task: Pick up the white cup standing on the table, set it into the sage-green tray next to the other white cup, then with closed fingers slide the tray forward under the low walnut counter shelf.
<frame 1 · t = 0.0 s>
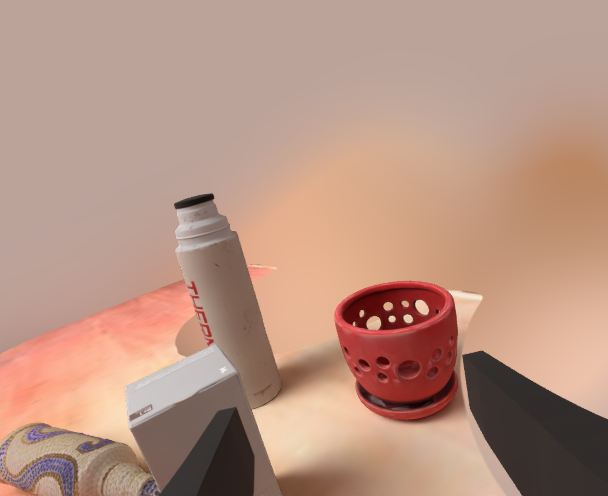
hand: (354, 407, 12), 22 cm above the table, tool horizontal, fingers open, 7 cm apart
thermos bottle: (254, 393, 55), on the table
plant pot: (410, 396, 46), on the table
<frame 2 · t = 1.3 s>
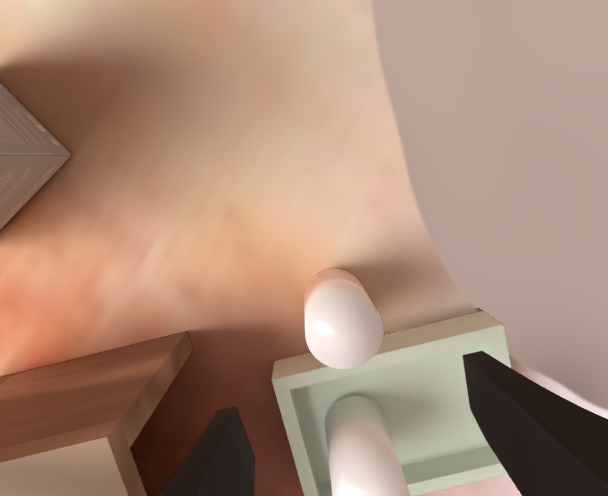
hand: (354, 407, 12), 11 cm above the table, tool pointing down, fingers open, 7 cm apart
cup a: (333, 297, 23), on the table
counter: (132, 465, 25), on the table
cup b: (354, 422, 23), point 1 cm above the table, tilted 6°, touching tray
tray: (391, 397, 25), on the table, touching cup b
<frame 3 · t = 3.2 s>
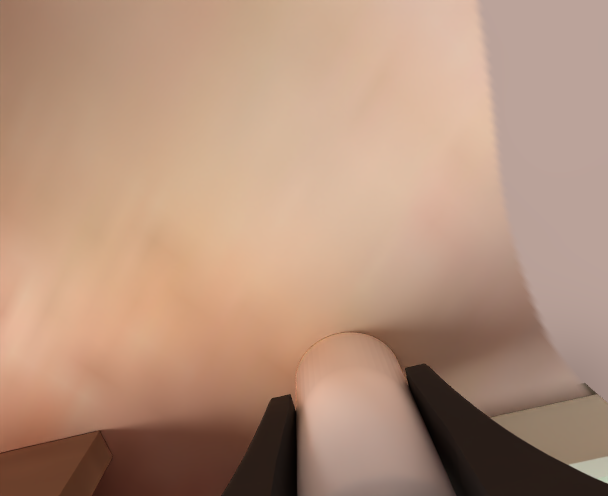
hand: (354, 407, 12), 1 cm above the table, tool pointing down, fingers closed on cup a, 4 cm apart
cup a: (347, 378, 13), on the table, touching gripper
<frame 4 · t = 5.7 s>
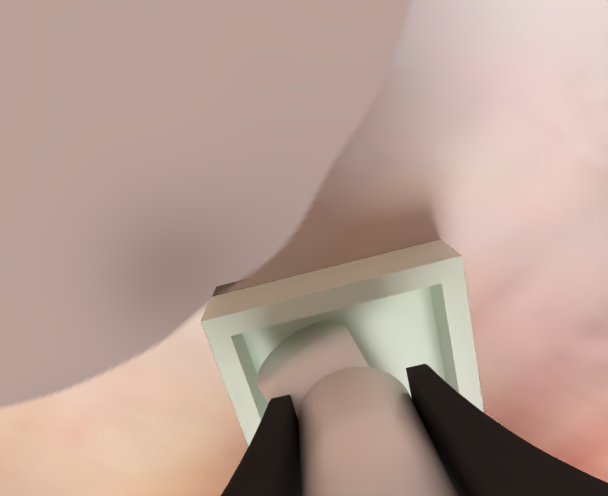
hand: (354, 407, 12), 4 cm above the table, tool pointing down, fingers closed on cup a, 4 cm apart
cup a: (356, 417, 12), point 4 cm above the table, touching gripper
cup b: (371, 463, 15), point 2 cm above the table, tilted 91°, touching gripper, tray
tray: (355, 388, 18), on the table, touching cup b
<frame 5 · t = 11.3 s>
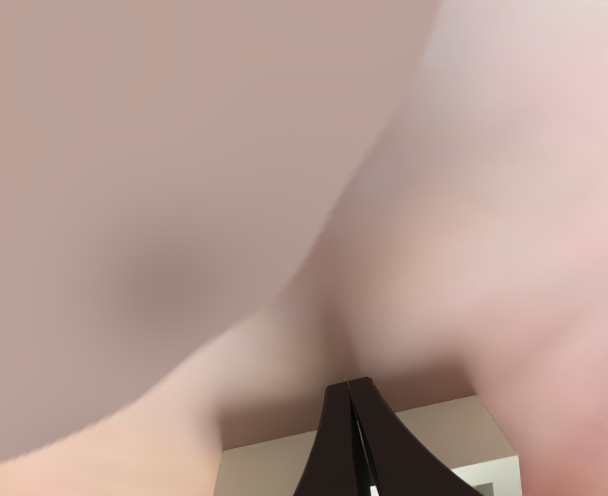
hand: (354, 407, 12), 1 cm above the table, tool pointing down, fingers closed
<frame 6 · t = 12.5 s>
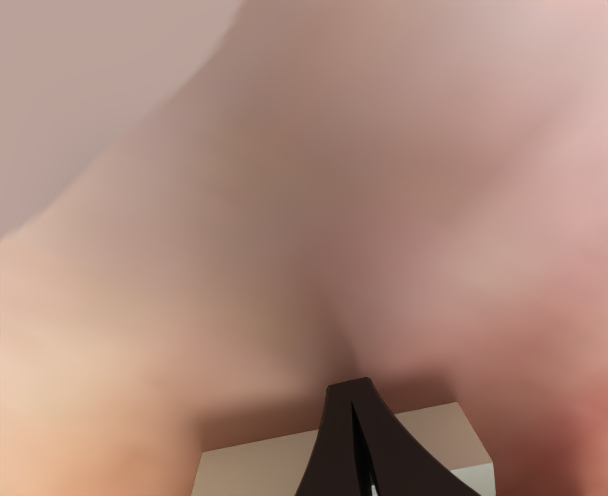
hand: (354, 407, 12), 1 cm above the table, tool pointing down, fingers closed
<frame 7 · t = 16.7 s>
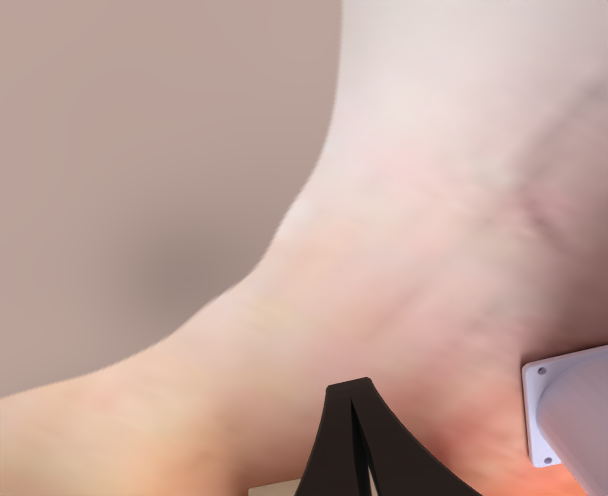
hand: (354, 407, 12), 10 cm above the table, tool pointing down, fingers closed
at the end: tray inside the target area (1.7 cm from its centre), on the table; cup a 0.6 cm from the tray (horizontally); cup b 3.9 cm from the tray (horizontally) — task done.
